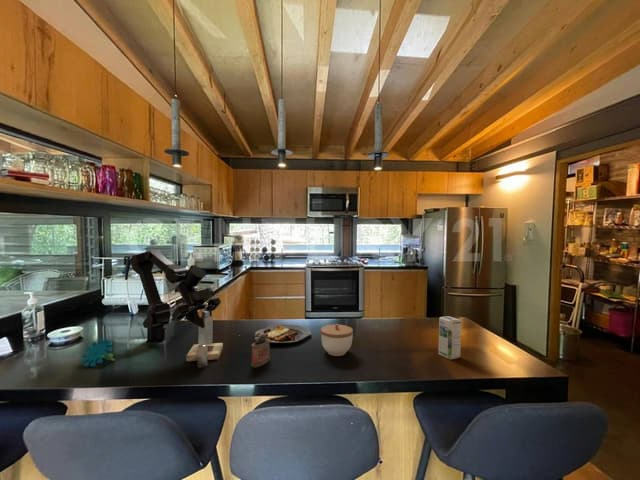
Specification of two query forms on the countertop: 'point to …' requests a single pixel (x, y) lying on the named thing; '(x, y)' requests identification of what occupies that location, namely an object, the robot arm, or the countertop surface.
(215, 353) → the socket block
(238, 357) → the countertop surface
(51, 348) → the countertop surface
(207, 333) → the square bit
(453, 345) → the syrup box
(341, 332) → the lidded bowl
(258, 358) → the lighter
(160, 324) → the robot arm
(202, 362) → the round peg
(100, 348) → the teal lumpy clump
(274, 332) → the food plate
